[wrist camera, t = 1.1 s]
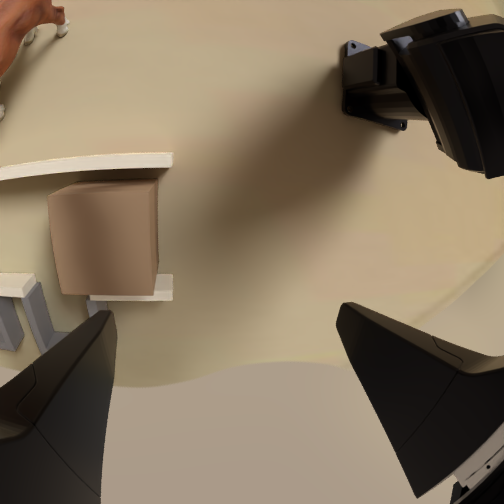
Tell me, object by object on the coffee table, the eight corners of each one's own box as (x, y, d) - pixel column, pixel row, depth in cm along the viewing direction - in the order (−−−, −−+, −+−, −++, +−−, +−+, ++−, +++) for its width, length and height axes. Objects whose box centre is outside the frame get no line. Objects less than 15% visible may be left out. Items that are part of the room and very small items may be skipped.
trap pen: (173, 152, 17) (171, 154, 15) (177, 342, 23) (178, 366, 20) (-75, 186, 11) (-93, 193, 8) (-42, 324, 17) (-53, 339, 14)
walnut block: (158, 178, 18) (149, 191, 13) (158, 261, 20) (153, 295, 16) (77, 181, 17) (47, 195, 12) (84, 261, 19) (61, 294, 14)
